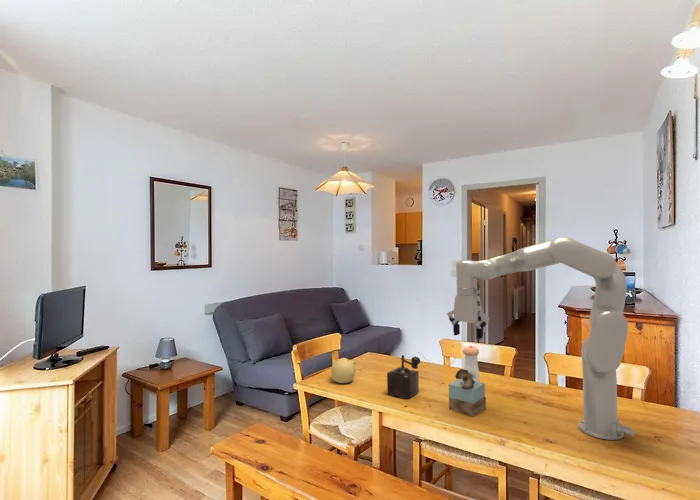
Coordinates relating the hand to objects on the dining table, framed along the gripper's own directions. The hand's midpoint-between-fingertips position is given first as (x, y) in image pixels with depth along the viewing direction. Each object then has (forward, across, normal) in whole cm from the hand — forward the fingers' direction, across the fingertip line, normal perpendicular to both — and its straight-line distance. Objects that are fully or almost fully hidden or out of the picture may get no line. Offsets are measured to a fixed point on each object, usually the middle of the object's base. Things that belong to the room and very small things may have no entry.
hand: (467, 336), depth 146 cm
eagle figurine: (+19, 0, +2) cm, 19 cm away
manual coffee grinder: (+28, +26, +4) cm, 39 cm away
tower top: (+24, +1, 0) cm, 24 cm away
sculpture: (+28, +60, +12) cm, 67 cm away
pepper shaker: (+28, +11, -21) cm, 37 cm away
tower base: (+28, +1, 0) cm, 29 cm away
